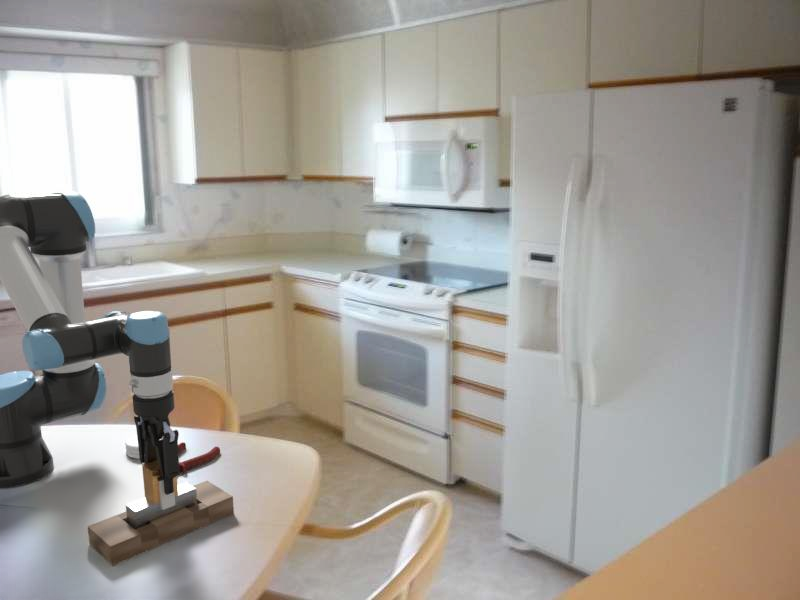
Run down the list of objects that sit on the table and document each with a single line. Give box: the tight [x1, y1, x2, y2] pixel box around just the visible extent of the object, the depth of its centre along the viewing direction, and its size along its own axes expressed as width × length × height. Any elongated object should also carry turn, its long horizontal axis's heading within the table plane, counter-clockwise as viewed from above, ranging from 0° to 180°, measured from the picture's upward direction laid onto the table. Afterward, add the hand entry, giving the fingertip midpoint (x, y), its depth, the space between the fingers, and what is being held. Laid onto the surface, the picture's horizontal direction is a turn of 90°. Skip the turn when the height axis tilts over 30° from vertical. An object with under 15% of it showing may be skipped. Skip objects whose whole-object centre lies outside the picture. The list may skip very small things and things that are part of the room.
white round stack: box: [124, 433, 161, 460], centre depth 182 cm, size 10×10×4 cm
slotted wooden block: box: [87, 480, 235, 567], centre depth 146 cm, size 10×26×4 cm, turn 135°
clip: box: [125, 460, 197, 529], centre depth 145 cm, size 4×13×14 cm, turn 135°
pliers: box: [178, 442, 221, 475], centre depth 172 cm, size 12×20×3 cm, turn 165°
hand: (162, 502), depth 145 cm, fingers closed on clip, 4 cm apart
